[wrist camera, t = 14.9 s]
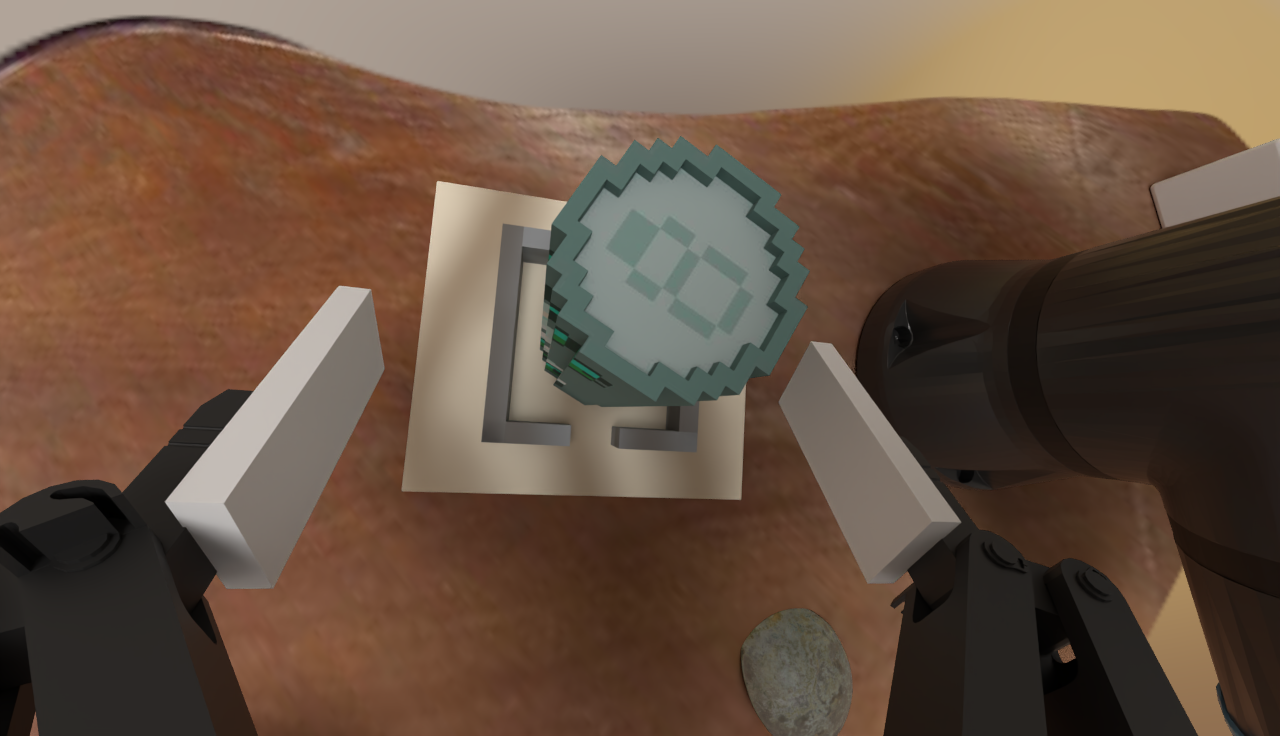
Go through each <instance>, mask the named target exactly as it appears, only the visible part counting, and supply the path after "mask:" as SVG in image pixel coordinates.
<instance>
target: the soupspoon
mask: <svg viewBox="0 0 1280 736" xmlns="http://www.w3.org/2000/svg"><path fill="white" fill-rule="evenodd" d="M741 664H742V671H743V678H744V682H745V685H746V688H747V692H748V694H749V697H750V700H751V703H752V705H753V707H754V709H755V711H756V713H757V715H758V717H759V718H760V720H761V721H762V722H763V724H764V725H765V727H766V728H767V729H768V731H769V732H770V733H771V734H772V735H773V736H837V735H838V733H839V732H840V730H841V729H842V727H843V725H844V723H845V721H846V718H847V716H848V712H849V709H850V705H851V699H852V692H853V689H852V675H851V669H850V665H849V662H848V659H847V656H846V653H845V651H844V649H843V647H842V645H841V642H840V641H839V639H838V637H837V635H836V633H835V631H834V630H833V629H832V628H831V626H830V625H829V624H828V623H827V622H826V621H825V620H823V619H822V618H821V617H819V615H817V614H815V613H814V612H813V611H811V610H808V609H802V608H795V609H788V610H784V611H780V612H777V613H775V614H773V615H771V616H770V617H768V618H767V619H765V620H764V621H762V622H761V623H760V624H759V625H758V626H757V627H756V628H755V629H754V630H753V631H752V632H751V633H750V634H749V636H748V637H747V639H746V640H745V642H744V643H743V645H742V648H741Z"/></svg>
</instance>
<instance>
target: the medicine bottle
mask: <svg viewBox="0 0 1280 736" xmlns="http://www.w3.org/2000/svg"><path fill="white" fill-rule="evenodd" d="M1150 190H1151V193H1152V196H1153V200H1154V203H1155V206H1156V210H1157V213H1158V216H1159V220H1160V223H1161V226H1162V229H1163V228H1166V227H1170V226H1173V225H1177V224H1181V223H1184V222H1188V221H1191V220H1195V219H1199V218H1202V217H1206V216H1209V215H1213V214H1217V213H1220V212H1224V211H1228V210H1231V209H1235V208H1238V207H1242V206H1246V205H1249V204H1253V203H1256V202H1260V201H1264V200H1267V199H1271V198H1274V197H1278V196H1280V139H1276V140H1273V141H1270V142H1268V143H1265V144H1262V145H1260V146H1257V147H1254V148H1251V149H1248V150H1246V151H1243V152H1240V153H1237V154H1235V155H1232V156H1229V157H1226V158H1224V159H1221V160H1218V161H1215V162H1213V163H1210V164H1207V165H1204V166H1201V167H1199V168H1196V169H1193V170H1190V171H1188V172H1185V173H1182V174H1179V175H1177V176H1174V177H1171V178H1168V179H1166V180H1163V181H1160V182H1157V183H1155V184H1153V185H1152V186H1151V188H1150Z"/></svg>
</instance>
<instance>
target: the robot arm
mask: <svg viewBox="0 0 1280 736" xmlns="http://www.w3.org/2000/svg"><path fill="white" fill-rule="evenodd" d="M384 369H385V368H384V362H383V357H382V351H381V345H380V339H379V333H378V328H377V322H376V316H375V310H374V304H373V298H372V293H371V289H363V288H354V287H346V286H338V288H337V289H336V290H335V291H334V292H333V294H332V295H331V296H330V297H329V299H328V300H327V301H326V302H325V304H324V305H323V306H322V307H321V309H320V310H319V311H318V312H317V314H316V315H315V316H314V317H313V319H312V320H311V321H310V322H309V323H308V325H307V326H306V327H305V328H304V330H303V331H302V332H301V333H300V335H299V336H298V337H297V338H296V340H295V341H294V342H293V343H292V345H291V346H290V347H289V348H288V350H287V351H286V352H285V353H284V354H283V356H282V357H281V358H280V359H279V361H278V362H277V363H276V364H275V366H274V367H273V368H272V369H271V371H270V372H269V373H268V374H267V376H266V377H265V378H264V379H263V381H262V382H261V383H260V384H259V385H258V387H257V388H256V389H255V390H254V391H244V390H230V389H228V390H226V391H224V392H223V393H221V394H219V395H218V396H216V397H215V398H213V399H211V400H210V401H208V402H206V403H205V404H203V405H201V406H200V407H199V409H198V410H197V411H196V412H195V413H194V414H193V415H192V416H191V417H190V418H189V420H188V421H187V422H186V423H185V424H184V425H183V426H184V427H183V429H180V430H179V431H178V432H177V433H176V434H175V435H174V436H173V437H172V438H171V439H170V441H169V444H168V446H164V447H163V448H162V449H161V450H160V452H159V453H158V454H157V455H156V456H155V457H154V458H153V459H152V460H151V462H150V463H149V464H148V465H147V466H146V467H145V468H144V469H143V470H142V471H141V473H140V474H139V475H138V476H137V477H136V478H135V479H134V480H133V481H132V483H131V484H130V485H129V486H128V487H127V488H126V489H125V490H124V491H123V492H121V491H120V490H119V489H118V488H117V486H116V485H115V484H112V483H109V482H105V481H101V480H77V481H72V482H68V483H64V484H60V485H55V486H51V487H48V488H46V489H43V490H41V491H39V492H36V493H34V494H32V495H29V496H27V497H25V498H22V499H21V500H19V501H18V502H16V503H15V504H13V505H12V506H10V507H9V508H7V509H6V510H4V511H3V512H1V513H0V736H30V732H31V727H32V723H33V719H34V715H35V711H36V717H37V724H38V731H39V736H258V734H257V732H256V729H255V726H254V724H253V721H252V718H251V716H250V713H249V710H248V708H247V705H246V702H245V700H244V697H243V694H242V691H241V689H240V686H239V683H238V681H237V678H236V675H235V673H234V670H233V667H232V665H231V662H230V659H229V657H228V654H227V651H226V648H225V646H224V643H223V640H222V638H221V635H220V632H219V630H218V627H217V624H216V622H215V619H214V616H213V614H212V611H211V608H210V606H209V603H208V601H207V599H206V598H205V597H204V596H203V594H204V592H205V591H206V589H207V588H208V586H209V584H210V583H211V581H212V579H213V578H214V576H215V575H217V576H218V577H219V579H220V580H221V582H222V583H223V584H224V586H225V587H226V589H262V588H274V586H275V584H276V582H277V580H278V578H279V576H280V574H281V572H282V570H283V568H284V566H285V564H286V562H287V560H288V558H289V556H290V554H291V552H292V550H293V549H294V547H295V545H296V543H297V541H298V539H299V537H300V535H301V533H302V531H303V529H304V527H305V525H306V523H307V521H308V519H309V517H310V515H311V513H312V511H313V509H314V507H315V505H316V503H317V501H318V499H319V497H320V495H321V493H322V491H323V489H324V487H325V485H326V483H327V482H328V480H329V478H330V476H331V474H332V472H333V470H334V468H335V466H336V464H337V462H338V460H339V458H340V456H341V454H342V452H343V450H344V448H345V446H346V444H347V442H348V440H349V438H350V436H351V434H352V432H353V430H354V428H355V426H356V424H357V422H358V420H359V418H360V416H361V415H362V413H363V411H364V409H365V407H366V405H367V403H368V401H369V399H370V397H371V395H372V393H373V391H374V389H375V387H376V385H377V383H378V381H379V379H380V377H381V375H382V373H383V371H384ZM857 378H858V379H857ZM857 378H856V376H855V375H854V374H853V372H852V371H851V370H850V368H849V367H848V365H847V364H846V363H845V361H844V360H843V359H842V357H841V356H840V354H839V353H838V352H837V350H836V349H835V348H834V346H833V345H832V344H830V343H822V342H813V341H811V342H810V344H809V346H808V348H807V350H806V352H805V353H804V355H803V357H802V359H801V361H800V363H799V365H798V366H797V368H796V370H795V372H794V374H793V376H792V378H791V380H790V381H789V383H788V385H787V387H786V389H785V391H784V393H783V394H782V396H781V398H780V400H779V402H778V403H779V405H780V407H781V409H782V411H783V413H784V415H785V417H786V419H787V421H788V423H789V425H790V427H791V429H792V431H793V433H794V435H795V437H796V439H797V441H798V443H799V445H800V447H801V449H802V451H803V453H804V455H805V457H806V459H807V461H808V464H809V466H810V468H811V470H812V472H813V474H814V476H815V478H816V480H817V482H818V484H819V486H820V488H821V490H822V492H823V494H824V496H825V498H826V500H827V502H828V504H829V506H830V508H831V510H832V512H833V514H834V516H835V518H836V520H837V522H838V524H839V526H840V528H841V530H842V533H843V535H844V537H845V539H846V541H847V543H848V545H849V547H850V549H851V551H852V553H853V555H854V557H855V559H856V561H857V563H858V565H859V567H860V569H861V571H862V573H863V575H864V577H865V579H866V581H867V583H894V582H896V581H897V580H898V579H899V578H900V577H901V576H902V575H903V574H904V573H906V572H907V571H908V572H909V574H910V576H911V578H912V579H913V581H914V583H912V584H911V585H910V586H909V587H908V588H907V589H905V590H904V591H903V592H902V593H901V594H900V595H898V596H897V597H896V598H895V599H894V600H893V601H892V603H891V605H890V606H891V607H893V608H894V609H895V608H896V607H897V606H898V605H899V604H901V603H902V602H904V601H905V605H904V610H903V611H901V613H902V614H903V618H902V624H901V630H900V636H899V643H898V649H897V655H896V661H895V667H894V673H893V680H892V686H891V692H890V698H889V704H888V711H887V717H886V723H885V729H884V735H883V736H1198V735H1197V733H1196V731H1195V729H1194V727H1193V725H1192V723H1191V722H1190V720H1189V718H1188V716H1187V714H1186V712H1185V710H1184V708H1183V707H1182V705H1181V703H1180V701H1179V699H1178V697H1177V695H1176V693H1175V692H1174V690H1173V688H1172V686H1171V684H1170V682H1169V680H1168V679H1167V677H1166V675H1165V673H1164V671H1163V669H1162V667H1161V665H1160V663H1159V662H1158V660H1157V658H1156V656H1155V654H1154V652H1153V650H1152V649H1151V647H1150V645H1149V643H1148V641H1147V639H1146V637H1145V635H1144V634H1143V632H1142V630H1141V628H1140V626H1139V624H1138V622H1137V620H1136V619H1135V617H1134V615H1133V613H1132V611H1131V609H1130V607H1129V605H1128V604H1127V602H1126V600H1125V598H1124V597H1123V595H1122V594H1121V592H1120V591H1119V590H1118V588H1117V587H1116V586H1115V585H1114V584H1113V583H1112V582H1111V581H1110V580H1109V579H1108V578H1107V577H1106V576H1105V575H1104V574H1103V573H1101V572H1100V571H1098V570H1097V569H1095V568H1094V567H1092V566H1090V565H1088V564H1086V563H1084V562H1082V561H1080V560H1076V559H1072V558H1068V559H1063V560H1062V561H1060V562H1059V563H1057V564H1056V565H1054V566H1053V567H1051V568H1049V567H1046V566H1043V565H1040V564H1037V563H1034V562H1031V561H1027V560H1025V558H1024V557H1023V556H1022V554H1021V553H1020V552H1019V551H1018V550H1017V549H1016V548H1015V547H1014V546H1013V545H1012V544H1011V543H1009V542H1008V541H1006V540H1005V539H1003V538H1002V537H1000V536H999V535H996V534H994V533H992V532H989V531H985V530H979V529H978V528H977V527H976V525H975V524H974V523H973V521H972V520H971V519H970V517H969V516H968V515H967V513H966V512H965V511H964V509H963V508H962V507H961V505H960V504H959V503H958V501H957V500H956V499H955V497H954V496H953V495H952V493H951V492H950V491H949V489H948V488H947V487H946V485H947V486H952V487H958V488H963V489H969V490H996V489H1003V488H1009V487H1015V486H1022V485H1028V484H1034V483H1041V482H1047V481H1053V480H1059V479H1066V478H1072V477H1078V476H1088V477H1097V478H1106V479H1114V480H1122V481H1130V482H1137V483H1144V484H1150V485H1154V486H1155V487H1156V488H1157V489H1158V491H1159V493H1160V495H1161V498H1162V500H1163V504H1164V507H1165V509H1166V512H1167V515H1168V518H1169V521H1170V524H1171V528H1172V531H1173V535H1174V539H1175V542H1176V546H1177V549H1178V552H1179V555H1180V558H1181V562H1182V565H1183V568H1184V571H1185V575H1186V578H1187V581H1188V584H1189V587H1190V590H1191V594H1192V597H1193V600H1194V603H1195V606H1196V609H1197V612H1198V616H1199V619H1200V622H1201V626H1202V629H1203V632H1204V635H1205V639H1206V642H1207V645H1208V648H1209V651H1210V654H1211V658H1212V661H1213V664H1214V667H1215V670H1216V674H1217V677H1218V680H1219V683H1218V684H1217V686H1216V690H1217V697H1218V701H1219V704H1220V707H1221V710H1222V712H1223V715H1224V718H1225V721H1226V723H1227V724H1228V727H1229V729H1230V731H1231V733H1232V735H1233V736H1280V196H1278V197H1274V198H1271V199H1267V200H1264V201H1260V202H1256V203H1253V204H1249V205H1246V206H1242V207H1238V208H1235V209H1231V210H1228V211H1224V212H1220V213H1217V214H1213V215H1209V216H1206V217H1202V218H1199V219H1195V220H1191V221H1188V222H1184V223H1181V224H1177V225H1173V226H1170V227H1166V228H1163V229H1159V230H1155V231H1152V232H1148V233H1145V234H1141V235H1137V236H1134V237H1130V238H1127V239H1123V240H1119V241H1116V242H1112V243H1108V244H1105V245H1101V246H1098V247H1094V248H1092V249H1089V250H1085V251H1082V252H1078V253H1074V254H1071V255H1067V256H1063V257H1060V258H1056V259H1052V260H962V261H954V262H948V263H944V264H940V265H937V266H934V267H931V268H928V269H926V270H923V271H920V272H917V273H914V274H912V275H909V276H907V277H905V278H903V279H902V280H900V281H898V282H897V283H896V284H894V285H893V286H892V287H891V288H889V289H888V290H887V291H886V292H885V293H884V294H883V296H882V297H881V298H880V299H879V300H878V302H877V303H876V304H875V306H874V308H873V309H872V311H871V313H870V315H869V317H868V319H867V321H866V323H865V326H864V329H863V332H862V335H861V339H860V344H859V349H858V357H857ZM1069 644H1071V647H1072V649H1073V652H1074V654H1075V657H1076V658H1075V659H1073V660H1071V661H1069V662H1067V663H1063V662H1062V660H1061V658H1060V656H1059V653H1058V650H1059V649H1061V648H1063V647H1065V646H1067V645H1069Z"/></svg>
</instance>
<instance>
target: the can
mask: <svg viewBox="0 0 1280 736" xmlns="http://www.w3.org/2000/svg"><path fill="white" fill-rule="evenodd" d="M780 196H781V194H780V193H779V192H777V191H776V190H775V189H774V188H772V187H771V186H770V185H768V184H767V183H766V182H764V181H763V180H762V179H761V178H759V177H758V176H757V175H755V174H754V173H753V172H751V171H750V170H749V169H748V168H746V167H745V166H744V165H742V164H741V163H740V162H738V161H737V160H736V159H735V158H733V157H732V156H731V155H729V154H728V153H727V152H726V151H724V150H723V149H722V148H720V147H719V146H718V145H715V147H714V148H713V150H712V151H711V153H710V154H709V156H706V155H705V154H704V153H702V152H701V151H700V150H698V149H697V148H696V147H695V146H693V145H692V144H691V143H689V142H688V141H687V140H685V139H684V138H683V137H681V136H680V137H679V139H678V140H677V142H676V143H675V145H674V146H673V148H671V147H669V146H668V145H667V144H665V143H664V142H663V141H661V140H660V139H659V138H657V140H656V141H655V143H654V144H653V146H652V147H651V148H650V150H648V149H646V148H645V147H644V146H642V145H641V144H640V143H638V142H637V141H636V140H634V141H633V143H632V144H631V146H630V147H629V149H628V150H627V151H626V153H625V154H624V156H623V157H622V158H621V160H620V161H619V163H618V164H617V165H614V164H613V163H611V162H610V161H609V160H607V159H606V158H605V157H603V156H602V155H601V156H600V158H599V159H598V160H597V162H596V163H595V164H594V166H593V167H592V169H591V170H590V171H589V173H588V174H587V176H586V177H585V178H584V180H583V181H582V182H581V184H580V185H579V187H578V188H577V189H576V191H575V192H574V194H573V195H572V196H571V198H570V199H569V200H568V202H567V203H566V205H565V206H564V207H563V209H562V210H561V211H560V213H559V214H558V216H557V217H556V218H555V220H554V221H553V223H552V225H551V236H550V247H549V258H548V263H547V266H546V278H545V291H544V303H543V315H542V328H541V340H540V350H541V351H543V356H542V360H543V361H544V362H546V365H545V369H544V371H546V372H547V373H549V374H551V375H552V376H554V377H555V378H557V380H556V381H555V383H554V384H553V385H554V386H555V387H557V388H558V389H560V390H561V391H563V392H565V393H566V394H568V395H569V396H571V397H572V398H574V399H576V400H577V401H579V402H580V403H582V404H583V405H599V406H600V407H643V406H694V405H695V403H696V402H697V401H713V400H718V398H719V396H732V395H740V393H741V392H742V390H743V388H744V386H745V385H746V383H747V381H748V379H749V378H755V377H762V376H769V375H770V374H771V372H772V370H773V368H774V366H775V365H776V363H777V361H778V359H779V357H780V356H781V354H782V352H783V350H784V348H785V347H786V345H787V343H788V341H789V339H790V338H791V336H792V334H793V332H794V331H795V329H796V327H797V325H798V323H799V322H800V320H801V318H802V316H803V314H804V313H805V311H806V309H807V306H806V305H805V304H803V303H802V302H801V301H799V300H798V299H797V298H795V296H796V295H797V293H798V291H799V289H800V288H801V286H802V284H803V282H804V281H805V279H806V277H807V275H808V274H809V272H810V271H809V270H808V269H806V268H805V267H804V266H802V265H801V264H800V263H798V262H797V261H798V259H799V258H800V256H801V254H802V253H803V251H804V248H803V247H802V246H800V245H799V244H798V243H796V242H795V241H794V240H792V238H793V237H794V235H795V233H796V232H797V230H798V228H799V226H798V225H797V224H795V223H794V222H793V221H791V220H790V219H789V218H787V217H786V216H785V215H784V214H782V213H781V212H780V211H778V210H777V209H776V208H774V206H775V205H776V203H777V201H778V200H779V198H780Z"/></svg>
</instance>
